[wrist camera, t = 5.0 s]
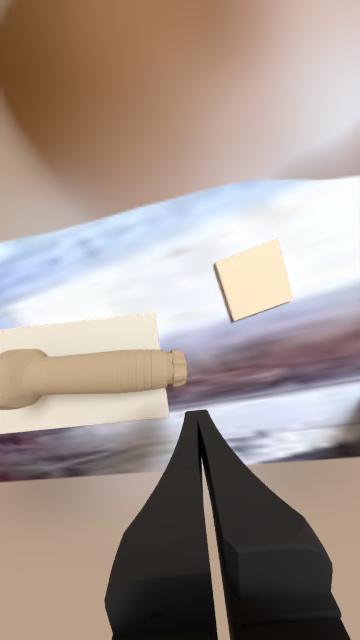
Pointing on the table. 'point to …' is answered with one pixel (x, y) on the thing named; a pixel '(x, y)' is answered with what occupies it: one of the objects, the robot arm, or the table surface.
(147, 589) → the robot arm
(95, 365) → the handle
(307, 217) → the table surface
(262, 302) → the beige tile
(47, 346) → the felt mat
